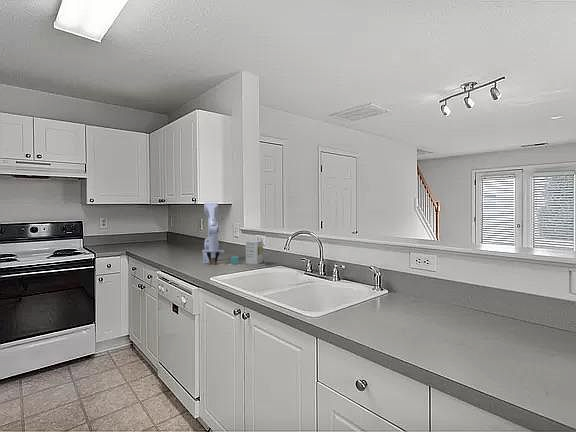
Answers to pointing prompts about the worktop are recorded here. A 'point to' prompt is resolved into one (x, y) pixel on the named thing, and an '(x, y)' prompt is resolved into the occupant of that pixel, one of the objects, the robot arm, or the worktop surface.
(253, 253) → the supplement box
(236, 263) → the cube
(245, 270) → the worktop surface
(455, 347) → the worktop surface
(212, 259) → the wooden board with block
